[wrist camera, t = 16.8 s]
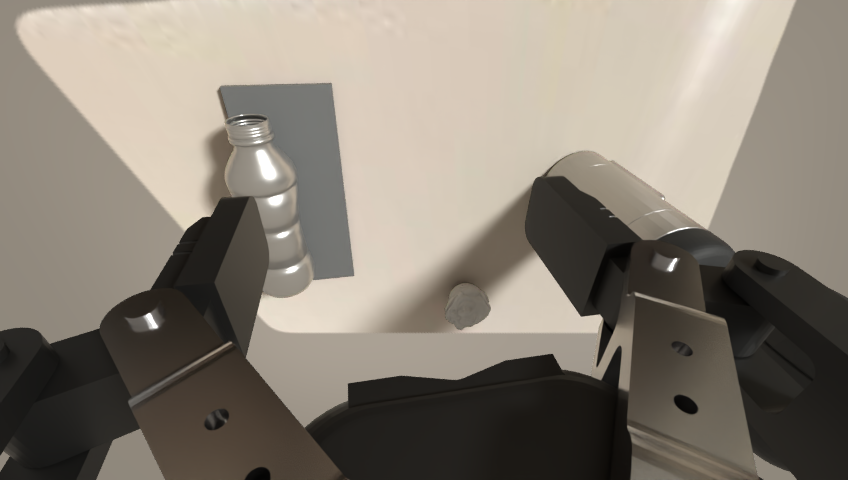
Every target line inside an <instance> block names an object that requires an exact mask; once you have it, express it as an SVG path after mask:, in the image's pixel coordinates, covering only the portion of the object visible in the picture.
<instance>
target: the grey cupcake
mask: <svg viewBox="0 0 848 480" xmlns="http://www.w3.org/2000/svg"><path fill="white" fill-rule="evenodd" d="M490 310H491V308H490V305H489V299H488V297H487V295H486V294H485V292H483V291H482V290H481V289H479V288H478V287H476V286H475V285H473V284H470V283H462V284H459V285H457V286H455V287H454V288H453V289H452V291H451V292H450V295H449V301H448V303H447V305H446V308H445V315H446V316H445V318H446V320H448V321H449V322H450V323H452V324H454V325H455V327H456V328H457V329H460V330H462V329H463V328H465V327H471V326H473V325H475V324H477V323H479V322H481V321H482V320H484V319H485V318H486V317H487V316H488V314H489V312H490Z"/></svg>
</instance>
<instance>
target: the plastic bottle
mask: <svg viewBox="0 0 848 480" xmlns="http://www.w3.org/2000/svg"><path fill="white" fill-rule="evenodd" d="M225 127H226V130H227V133H228V141H229V143H230V144H231V145H233V146H234V149H233V151H232V153H231V155H230V157H229V159H228V162H227V165H226V168H225V182H226V185H227V187H228V190H229V191H230V194H231V196H232V197H239V196H253V197H254V198H255V200H256V203H257V206H258V210H259V213H260V217H261V221H262V224H263V228H264V232H265V235H266V239H267V243H268V248H269V266H268V270H267V274H266V278H265V282H264V286H263V290H262V291H263V292H264V293H266V294H268V295H270V296H272V297H277V298H286V297H291V296H294V295H297V294H299V293H301V292H303V291H304V290H305V289H306V288H307V287H308V286H309V285H310V283H311V282H312V280H313V278H314V261H313V258H312V256H311V253H310V251H309V249H308V247H307V245H306V241H305V238H304V235H303V231H302V228H301V224H300V217H299V208H298V183H297V170H296V167H295V166H294V164H293V162H292V160H291V159H290V158H289V157H288V156H287V155H286V154H285V153H284V152H283V151H282V150H281V149H280V148H279V147H277V146H276V145H275V144H274V143H273V140H274V138H275V136H274V132H273V131H272V129H271V124H270V120H269V118H268V117H267V116H266V115H262V114H243V115H237V116H233V117H230V118H228V119H226V120H225Z"/></svg>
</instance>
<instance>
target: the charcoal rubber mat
mask: <svg viewBox="0 0 848 480" xmlns="http://www.w3.org/2000/svg"><path fill="white" fill-rule="evenodd" d="M220 90H221V94H222V97H223V101H224V104H225V108H226V111H227V115H228V118H230V117H233V116H237V115H243V114H262V115H266V116H267V117H268V118H269V120H270V124H271V129H272V131H273V132H274V136H275V138H274V140H273V143H274V144H275V145H276V146H277V147H279V148H280V149H281V150H282V151H283V152H284V153H285V154H286V155H287V156H288V157H289V158H290V159H291V160H292V162H293V164H294V166H295V167H296V170H297V183H298V208H299V217H300V224H301V228H302V231H303V235H304V238H305V241H306V245H307V247H308V249H309V251H310V253H311V256H312V258H313V261H314V278H313V280H319V279H329V278H339V277H348V276H354V270H353V261H352V253H351V244H350V236H349V227H348V219H347V210H346V202H345V193H344V185H343V176H342V168H341V159H340V151H339V142H338V134H337V125H336V117H335V108H334V100H333V91H332V83H317V84H274V85H231V86H221V87H220Z"/></svg>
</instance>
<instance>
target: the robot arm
mask: <svg viewBox="0 0 848 480" xmlns="http://www.w3.org/2000/svg"><path fill="white" fill-rule="evenodd" d="M525 232H526V236H527V239H528V241H529V243H530V244H531V246H532V247H533V248H534V250H535V251H536V253H537V254H538V256H539V257H540V258H541V260H542V261H543V263H544V264H545V266H546V267H547V268H548V270H549V271H550V273H551V274H552V276H553V277H554V278H555V280H556V281H557V283H558V284H559V286H560V287H561V288H562V290H563V291H564V293H565V294H566V296H567V297H568V299H569V300H570V301H571V303H572V304H573V306H574V307H575V309H576V310H577V311H578V313H579V314H580V316H581V317H582V316H590V315H598V314H600V315H601V316H602V321H601V323H600V326H599V330H598V336H597V341H596V347H595V354H594V359H593V365H592V371H591V376H588V375H584V374H581V373H577V372H573V371H568V370H561V368H560V366H559V364H558V363H557V361H556V359H555V358H554V356H553V354H548V355H541V356H534V357H527V358H520V359H514V360H506V361H503V362H501V363H499V364H496V365H494V366H491V367H489V368H487V369H484V370H482V371H480V372H477V373H475V374H472V375H470V376H468V377H466V378H463V379H459V380H447V379H435V378H422V377H411V376H396V377H390V378H382V379H376V380H369V381H362V382H355V383H349V384H348V401H347V402H344V403H342V404H339V405H337V406H335V407H333V408H332V409H330V410H328V411H326V412H325V413H323V414H322V415H320V416H319V417H317V418H316V419H314V420H313V421H312V422H311V423H310V424H309V425H307V426H306V427H305V428H304V427H303V426H302V425H301V423H300V422H299V421H298V420H297V419H296V418H295V416H294V415H293V414H292V413H291V411H290V410H289V409H288V408H287V407H286V406H285V404H284V403H283V402H282V401H281V399H280V398H279V397H278V396H277V395H276V394H275V392H274V391H273V390H272V389H271V388H270V386H269V385H268V384H267V383H266V382H265V380H264V379H263V378H262V377H261V376H260V374H259V373H258V372H257V371H256V370H255V368H254V367H253V366H252V365H251V364H250V362H249V361H248V360H247V359H246V355H247V351H248V347H249V342H250V339H251V335H252V331H253V327H254V323H255V319H256V315H257V311H258V307H259V303H260V299H261V294H262V290H263V286H264V282H265V278H266V274H267V270H268V266H269V248H268V243H267V239H266V235H265V232H264V228H263V224H262V221H261V217H260V213H259V210H258V206H257V203H256V200H255V198H254V197H253V196H239V197H224V198H221V199H220V201H219V203H218V205H217V206H216V208H215V210H214V212H213V214H212V216H211V217H202V218H201V219H200V220H198V221H197V222H196V223H194V224H193V225H192V226H190V227H189V228H188V229H187V230H186V232H185V233H184V235H183V237H182V238H181V240H180V242H179V243H180V244H178V245H177V247H176V248H175V250H174V252H173V255H171V257H170V258H169V260H168V262H167V263H166V265H165V266H164V268H163V270H162V271H161V273H160V275H159V277H158V278H157V280H156V281H155V283H154V285H153V286H152V288H151V290H148V291H144V292H141V293H139V294H136V295H133V296H131V297H129V298H127V299H125V300H124V301H122V302H120V303H119V304H118V305H116V306H115V307H113V308H112V309H111V310H110V311H109V312H108V313H107V314H106V315H105V317H104V318H103V320H102V321H101V324H100V328H99V329H96V330H94V331H90V332H87V333H84V334H80V335H78V336H74V337H71V338H67V339H64V340H61V341H58V342H55V343H51V344H49V343H48V342H47V340H46V339H45V338H44V337H43V336H42V335H41V333H39V332H38V331H37V330H35V329H31V328H13V329H8V330H4V331H0V455H1V454H2V452H3V451H4V452H5V453H7V454H8V455H9V456H10V457H9V459H8V460H7V462H6V464H5V465H4V467H3V468H2V470H1V472H0V480H96V479H97V476H98V474H99V471H100V469H101V467H102V464H103V462H104V460H105V457H106V455H107V453H108V450H109V448H110V445H111V443H112V441H113V440H114V439H116V438H119V437H121V436H123V435H126V434H128V433H131V432H133V431H136V430H138V429H141V431H142V433H143V435H144V437H145V439H146V441H147V443H148V445H149V447H150V450H151V451H152V454H153V456H154V458H155V460H156V462H157V464H158V466H159V468H160V470H161V472H162V474H163V476H164V478H165V480H763V479H762V478H760V477H758V475H757V471H756V466H755V461H754V456H753V453H755V454H756V455H758V456H759V457H761V458H762V459H763V460H765V461H767V462H769V463H770V464H772V465H775V466H777V467H779V468H781V469H783V470H786V471H790V472H791V473H792V474H793V475H794V476H795V478H796V479H797V480H848V298H847V297H845V296H843V295H841V294H839V293H838V292H836V291H834V290H831V289H830V288H828V287H826V286H825V285H823V284H822V283H820V282H819V281H817V280H816V279H815V278H813V277H812V276H810V275H809V274H807V273H806V272H804V271H803V270H801V269H800V268H799V267H797V266H795V265H794V264H792V263H790V262H789V261H787V260H785V259H782V258H780V257H777V256H775V255H772V254H769V253H765V252H760V251H754V250H743V251H738V252H736V253H735V252H734V251H733V249H732V248H731V247H730V246H729V245H728V244H727V243H725V242H724V241H723V240H721V239H720V238H718V237H717V236H715V235H714V234H713V233H711V232H710V231H708V230H707V229H705V228H704V227H702V226H701V225H699V224H698V223H697V222H695V221H694V220H692V219H691V218H689V217H688V216H686V215H685V214H683V213H682V212H681V211H679V210H678V209H676V208H675V207H673V206H672V205H671V204H669V203H668V202H666V201H665V197H664V195H663V194H661V193H660V192H658V191H657V190H655V189H654V188H652V187H651V186H650V185H648V184H647V183H645V182H644V181H642V180H641V179H639V178H638V177H636V176H635V175H634V174H632V173H631V172H629V171H628V170H626V169H625V168H623V167H622V166H620V165H619V164H618V163H616V162H615V161H608V160H607V159H605V158H604V157H603V156H601V155H599V154H597V153H595V152H591V151H581V152H577V153H573V154H571V155H569V156H567V157H565V158H563V159H562V160H560V161H559V162H558V163H557V164H556V165H555V166H554V167H553V168H552V169H551V170H550V171H549V173H548V174H547V176H546V177H537V178H536V179H535V181H534V183H533V187H532V191H531V196H530V201H529V206H528V211H527V216H526V221H525Z"/></svg>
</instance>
